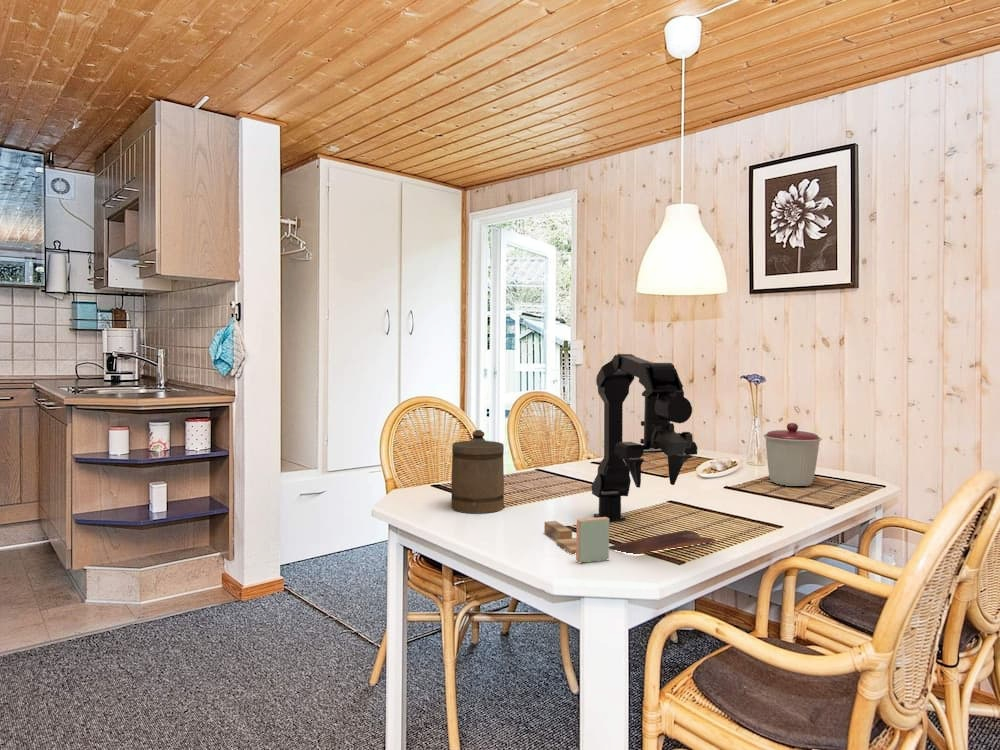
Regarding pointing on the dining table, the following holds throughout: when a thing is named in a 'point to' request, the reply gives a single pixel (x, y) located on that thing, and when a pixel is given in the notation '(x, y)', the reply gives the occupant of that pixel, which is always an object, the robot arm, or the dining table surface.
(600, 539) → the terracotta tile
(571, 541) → the tan paddle
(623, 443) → the robot arm
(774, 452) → the canister
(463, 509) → the wooden container
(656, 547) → the wooden tablet
